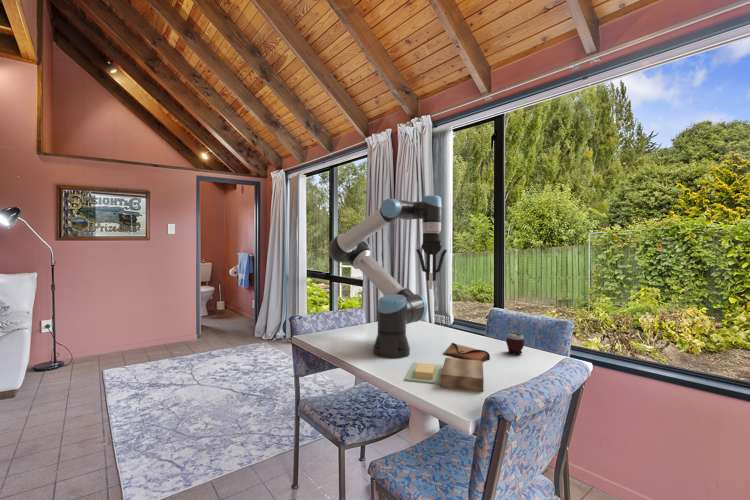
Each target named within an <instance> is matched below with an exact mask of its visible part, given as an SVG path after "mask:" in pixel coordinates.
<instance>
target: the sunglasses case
mask: <svg viewBox="0 0 750 500" xmlns="http://www.w3.org/2000/svg"><path fill="white" fill-rule="evenodd" d="M442 355H443V356H447V357H452V358H455V359H466V360H478V361H483V363H484V362H487V361H490V360H491V356H490V353H489V352H488V351H486V350H484V349H483V350H482V349H476V348H473V347H470V346H465V345H461V344H457V343H455V342H451V344H450V345H449V346H448V347H447V348H446V350H445V351H444V352H443V353H442Z"/></svg>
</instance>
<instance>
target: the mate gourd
mask: <svg viewBox="0 0 750 500" xmlns="http://www.w3.org/2000/svg"><path fill="white" fill-rule="evenodd" d="M529 321H531V318H530V319H528V320H526V321H523V323H522V325H521V327H520V330H519V333H517V332H509V333H508V334H507V336H506V346H507V350H508V352H507V354H509V355H516V356H519V355H520V356H521V354H523V352H522V351H523V348H524V346H525V338H524V336H523V334H522V331H523V328H524V327H525V326H526V324H527V323H528V322H529ZM514 353H515V354H514Z"/></svg>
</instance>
